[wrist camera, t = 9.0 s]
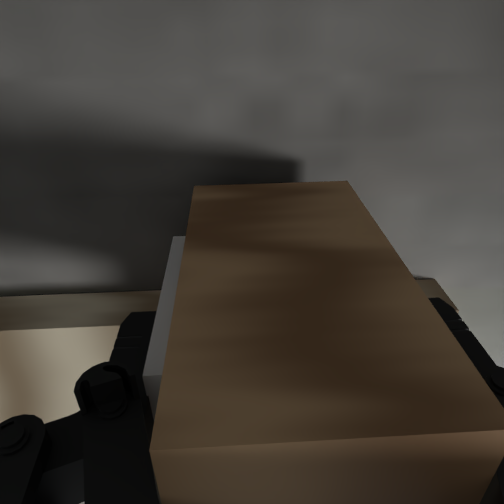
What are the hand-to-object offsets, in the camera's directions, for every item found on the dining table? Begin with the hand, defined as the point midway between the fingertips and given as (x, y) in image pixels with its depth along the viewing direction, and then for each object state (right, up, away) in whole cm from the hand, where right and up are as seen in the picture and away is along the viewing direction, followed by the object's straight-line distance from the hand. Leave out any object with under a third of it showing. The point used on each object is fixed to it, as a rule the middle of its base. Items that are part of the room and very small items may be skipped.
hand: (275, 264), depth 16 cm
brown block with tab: (0, -4, +4) cm, 6 cm away
